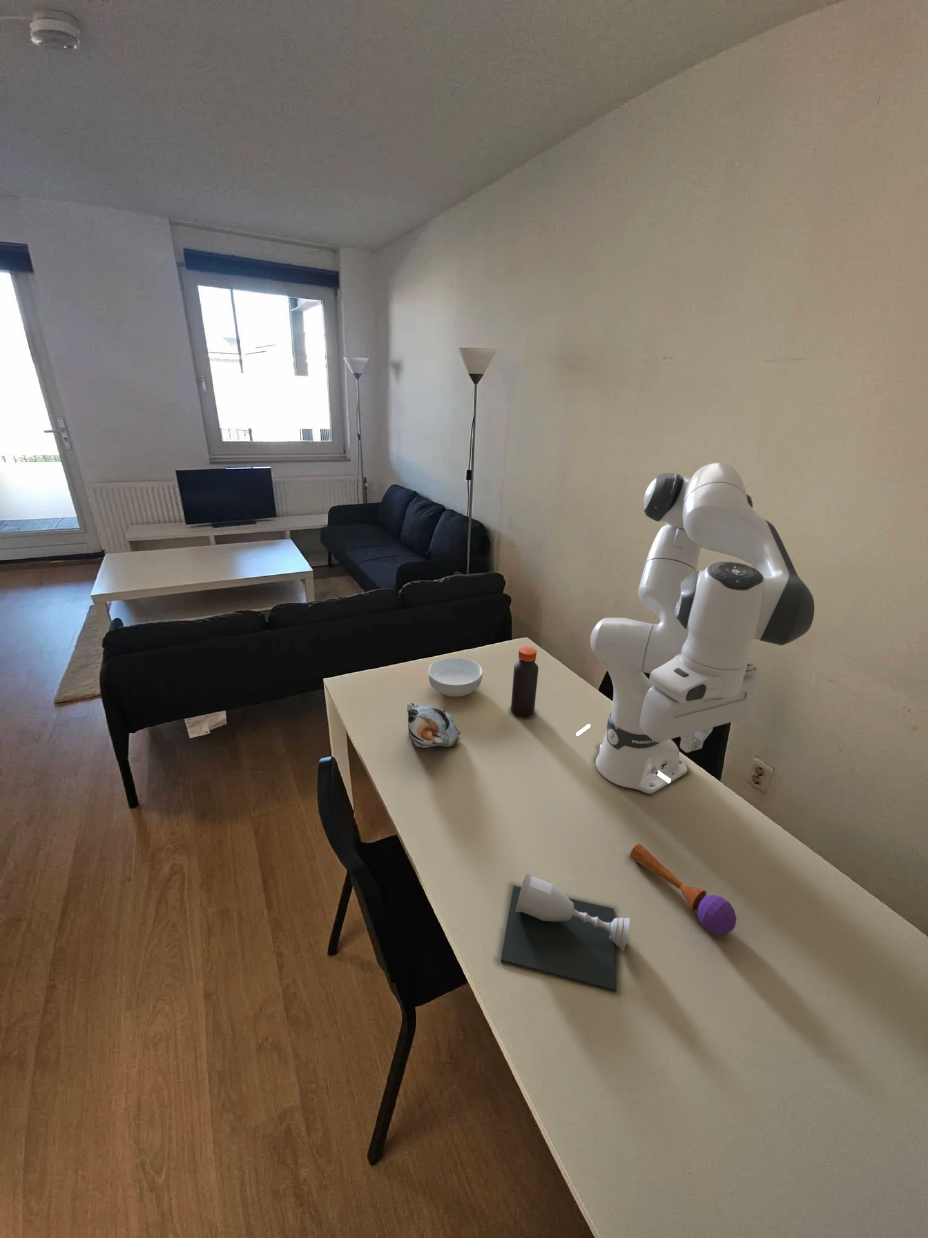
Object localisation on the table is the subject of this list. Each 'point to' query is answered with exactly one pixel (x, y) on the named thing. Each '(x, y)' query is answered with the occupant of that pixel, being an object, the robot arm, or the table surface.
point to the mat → (562, 944)
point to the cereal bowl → (455, 676)
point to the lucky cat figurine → (431, 726)
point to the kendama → (693, 896)
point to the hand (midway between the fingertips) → (690, 748)
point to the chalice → (562, 908)
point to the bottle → (524, 683)
